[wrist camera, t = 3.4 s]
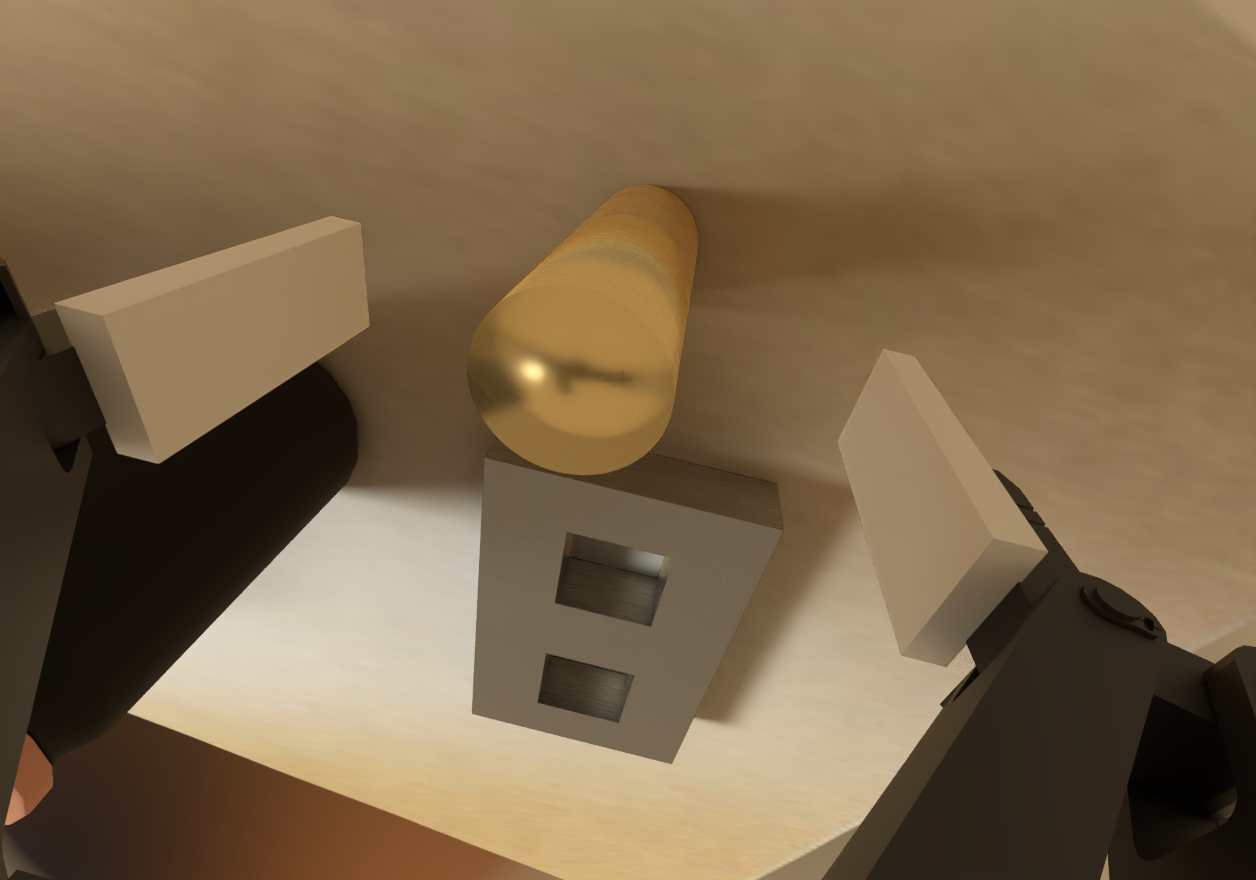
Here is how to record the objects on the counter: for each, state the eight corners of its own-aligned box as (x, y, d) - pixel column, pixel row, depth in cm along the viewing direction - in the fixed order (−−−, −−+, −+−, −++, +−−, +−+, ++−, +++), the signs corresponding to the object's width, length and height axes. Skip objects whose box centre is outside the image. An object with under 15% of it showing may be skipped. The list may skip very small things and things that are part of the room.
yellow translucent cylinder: (584, 283, 23) (465, 449, 13) (600, 172, 21) (469, 260, 10) (683, 307, 23) (649, 494, 13) (711, 198, 21) (699, 314, 10)
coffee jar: (137, 331, 28) (-525, 603, 13) (308, 299, 26) (-266, 588, 11) (250, 493, 34) (-129, 816, 19) (401, 479, 31) (103, 840, 16)
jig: (490, 668, 40) (471, 713, 37) (509, 419, 28) (484, 457, 25) (675, 714, 40) (671, 764, 37) (777, 484, 28) (783, 530, 25)
